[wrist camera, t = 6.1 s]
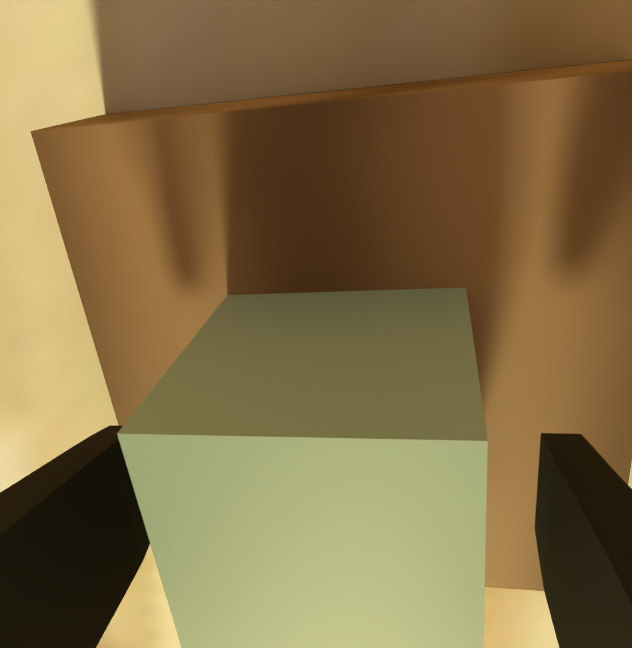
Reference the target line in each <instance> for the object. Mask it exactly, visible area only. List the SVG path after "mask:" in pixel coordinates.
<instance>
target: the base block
mask: <svg viewBox="0 0 632 648" xmlns="http://www.w3.org/2000/svg"><path fill="white" fill-rule="evenodd" d="M31 134H32V137H33V141H34V144H35V147H36V151H37V154H38V157H39V161H40V164H41V167H42V171H43V174H44V177H45V181H46V184H47V187H48V191H49V194H50V197H51V201H52V204H53V207H54V211H55V214H56V217H57V221H58V224H59V227H60V231H61V234H62V237H63V241H64V244H65V247H66V251H67V254H68V257H69V261H70V264H71V267H72V271H73V274H74V277H75V281H76V284H77V288H78V291H79V294H80V298H81V301H82V304H83V308H84V311H85V314H86V318H87V321H88V324H89V328H90V331H91V334H92V338H93V341H94V344H95V348H96V351H97V354H98V358H99V361H100V364H101V368H102V371H103V374H104V378H105V381H106V384H107V388H108V391H109V394H110V398H111V401H112V404H113V408H114V411H115V414H116V418H117V421H118V424H119V426H124V424H125V423H126V422H127V421H128V419H129V418H130V417H131V415H132V414H133V413H134V412H135V410H136V409H137V408H138V407H139V405H140V404H141V403H142V402H143V400H144V399H145V398H146V397H147V395H148V394H149V393H150V392H151V390H152V389H153V388H154V387H155V385H156V384H157V383H158V382H159V380H160V379H161V378H162V377H163V375H164V374H165V373H166V372H167V370H168V369H169V368H170V367H171V365H172V364H173V363H174V362H175V360H176V359H177V358H178V356H179V355H180V354H181V353H182V351H183V350H184V349H185V348H186V346H187V345H188V344H189V343H190V341H191V340H192V339H193V338H194V336H195V335H196V334H197V333H198V331H199V330H200V329H201V328H202V326H203V325H204V324H205V323H206V321H207V320H208V319H209V318H210V316H211V315H212V314H213V313H214V311H215V310H216V309H217V308H218V306H219V305H220V304H221V303H222V301H223V300H224V299H225V298H226V296H227V295H247V294H278V293H310V292H341V291H372V290H403V289H434V288H465V287H466V290H467V298H468V305H469V312H470V319H471V326H472V333H473V340H474V347H475V354H476V361H477V368H478V375H479V383H480V390H481V397H482V404H483V411H484V418H485V425H486V432H487V439H488V453H487V499H486V545H485V587H494V588H508V589H523V590H537V591H544V587H543V581H542V575H541V569H540V562H539V555H538V549H537V542H536V535H535V513H536V498H537V483H538V468H539V453H540V438H541V433H566V434H582V435H583V436H584V437H585V438H586V439H587V440H588V441H589V443H590V444H591V445H592V446H593V447H594V448H595V449H596V450H597V451H598V453H599V454H600V455H601V456H602V457H603V458H604V459H605V460H606V462H607V463H608V464H609V465H610V466H611V467H612V468H613V469H614V470H615V472H616V473H617V474H618V475H619V476H620V477H621V478H622V479H623V480H624V481H625V482H626V483H627V485H628V481H629V474H630V468H631V461H632V60H624V61H615V62H605V63H595V64H586V65H576V66H567V67H557V68H547V69H538V70H528V71H518V72H509V73H499V74H489V75H480V76H470V77H461V78H451V79H441V80H432V81H422V82H412V83H403V84H393V85H384V86H374V87H364V88H355V89H345V90H335V91H326V92H316V93H307V94H297V95H287V96H278V97H268V98H258V99H249V100H239V101H230V102H220V103H210V104H201V105H191V106H181V107H172V108H162V109H153V110H143V111H133V112H124V113H114V114H104V115H100V116H96V117H91V118H87V119H83V120H78V121H74V122H70V123H65V124H61V125H57V126H52V127H48V128H43V129H39V130H35V131H31Z"/></svg>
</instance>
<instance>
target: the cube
mask: <svg viewBox="0 0 632 648" xmlns="http://www.w3.org/2000/svg"><path fill="white" fill-rule="evenodd" d="M117 435H118V439H119V442H120V445H121V449H122V452H123V455H124V459H125V462H126V465H127V468H128V472H129V475H130V478H131V482H132V485H133V488H134V492H135V495H136V498H137V501H138V505H139V508H140V511H141V515H142V518H143V521H144V525H145V528H146V531H147V534H148V538H149V541H150V544H151V548H152V551H153V554H154V558H155V561H156V564H157V567H158V571H159V574H160V577H161V581H162V584H163V587H164V591H165V594H166V597H167V600H168V604H169V607H170V610H171V614H172V617H173V620H174V624H175V627H176V630H177V633H178V637H179V640H180V643H181V647H182V648H483V637H484V591H485V545H486V499H487V453H488V439H487V432H486V425H485V418H484V411H483V404H482V397H481V390H480V383H479V375H478V368H477V361H476V354H475V347H474V340H473V333H472V326H471V319H470V312H469V305H468V298H467V290H466V287H465V288H434V289H403V290H372V291H341V292H310V293H278V294H247V295H227V296H226V298H225V299H224V300H223V301H222V303H221V304H220V305H219V306H218V308H217V309H216V310H215V311H214V313H213V314H212V315H211V316H210V318H209V319H208V320H207V321H206V323H205V324H204V325H203V326H202V328H201V329H200V330H199V331H198V333H197V334H196V335H195V336H194V338H193V339H192V340H191V341H190V343H189V344H188V345H187V346H186V348H185V349H184V350H183V351H182V353H181V354H180V355H179V356H178V358H177V359H176V360H175V362H174V363H173V364H172V365H171V367H170V368H169V369H168V370H167V372H166V373H165V374H164V375H163V377H162V378H161V379H160V380H159V382H158V383H157V384H156V385H155V387H154V388H153V389H152V390H151V392H150V393H149V394H148V395H147V397H146V398H145V399H144V400H143V402H142V403H141V404H140V405H139V407H138V408H137V409H136V410H135V412H134V413H133V414H132V415H131V417H130V418H129V419H128V421H127V422H126V423H125V424H124V426H123V427H122V428H121V429H120V431H119V432H118V433H117Z"/></svg>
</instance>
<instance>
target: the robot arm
mask: <svg viewBox="0 0 632 648" xmlns="http://www.w3.org/2000/svg"><path fill="white" fill-rule="evenodd" d="M122 427H123V426H108V427H106V428H105V429H103V430H101V431H99V432H97V433H95V434H93V435H92V436H90V437H88V438H87V439H85V440H83V441H82V442H80V443H78V444H77V445H75V446H74V447H72V448H70V449H69V450H67V451H66V452H64V453H62V454H61V455H59V456H58V457H56V458H55V459H53V460H51V461H50V462H48V463H47V464H45V465H43V466H42V467H40V468H39V469H37V470H36V471H34V472H32V473H31V474H29V475H28V476H26V477H24V478H23V479H21V480H20V481H18V482H17V483H15V484H13V485H12V486H10V487H9V488H7V489H5V490H4V491H2V492H1V493H0V648H96V646H97V645H98V643H99V641H100V639H101V637H102V635H103V634H104V632H105V630H106V628H107V626H108V624H109V623H110V621H111V619H112V617H113V615H114V614H115V612H116V610H117V608H118V606H119V604H120V603H121V601H122V599H123V597H124V595H125V593H126V592H127V590H128V588H129V586H130V584H131V582H132V580H133V579H134V577H135V575H136V573H137V571H138V569H139V567H140V565H141V563H142V561H143V559H144V557H145V555H146V552H147V550H148V547H149V545H150V541H149V538H148V534H147V531H146V528H145V525H144V521H143V518H142V515H141V511H140V508H139V505H138V501H137V498H136V495H135V492H134V488H133V485H132V482H131V478H130V475H129V472H128V468H127V465H126V462H125V459H124V455H123V452H122V449H121V445H120V442H119V439H118V435H117V433H118V432H119V431H120V429H121V428H122ZM535 535H536V542H537V549H538V555H539V562H540V569H541V575H542V581H543V587H544V591H545V595H546V599H547V603H548V606H549V610H550V614H551V618H552V622H553V625H554V629H555V633H556V637H557V640H558V644H559V648H632V489H631V488H630V487H629V486H628V485H627V483H626V482H625V481H624V480H623V479H622V478H621V477H620V476H619V475H618V474H617V473H616V472H615V470H614V469H613V468H612V467H611V466H610V465H609V464H608V463H607V462H606V460H605V459H604V458H603V457H602V456H601V455H600V454H599V453H598V451H597V450H596V449H595V448H594V447H593V446H592V445H591V444H590V443H589V441H588V440H587V439H586V438H585V437H584V436H583V435H582V434H566V433H541V438H540V453H539V468H538V483H537V498H536V513H535Z"/></svg>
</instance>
